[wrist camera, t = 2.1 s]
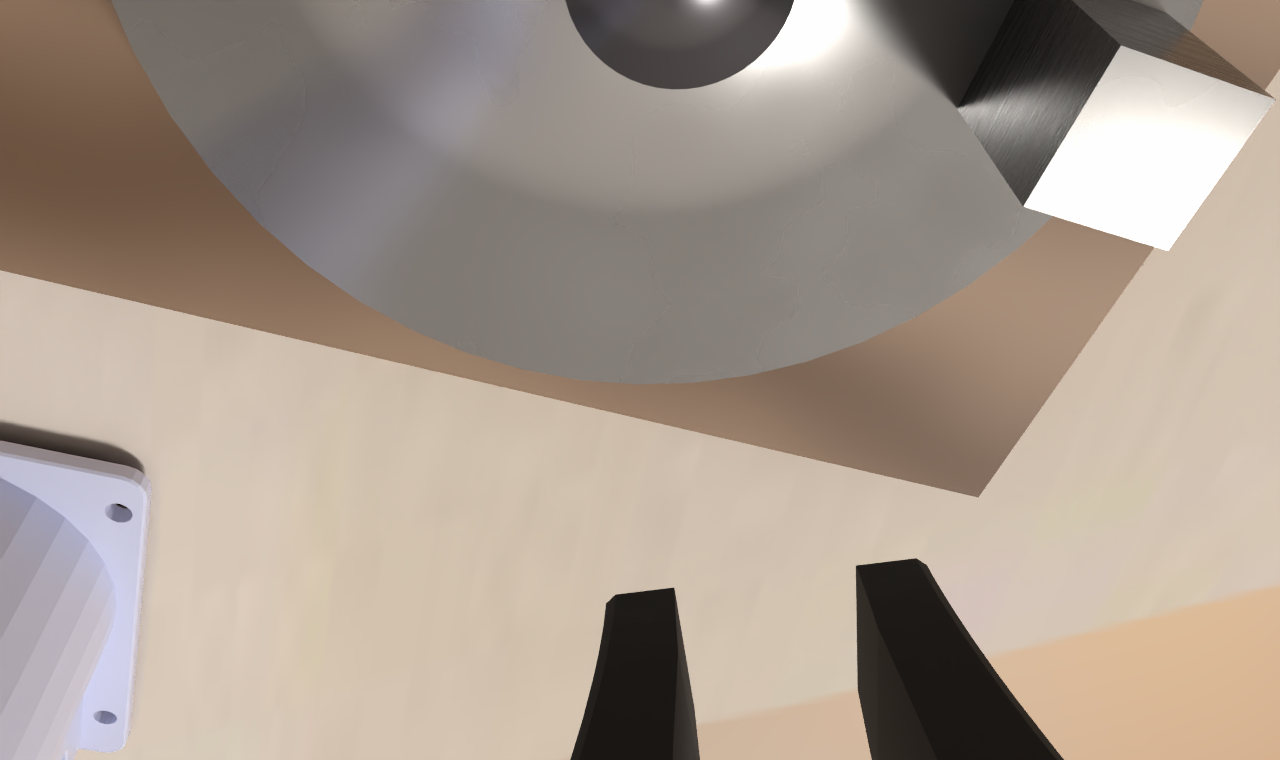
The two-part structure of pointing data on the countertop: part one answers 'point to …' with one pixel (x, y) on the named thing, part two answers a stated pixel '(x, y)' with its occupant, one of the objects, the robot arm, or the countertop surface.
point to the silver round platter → (689, 157)
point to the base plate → (325, 314)
